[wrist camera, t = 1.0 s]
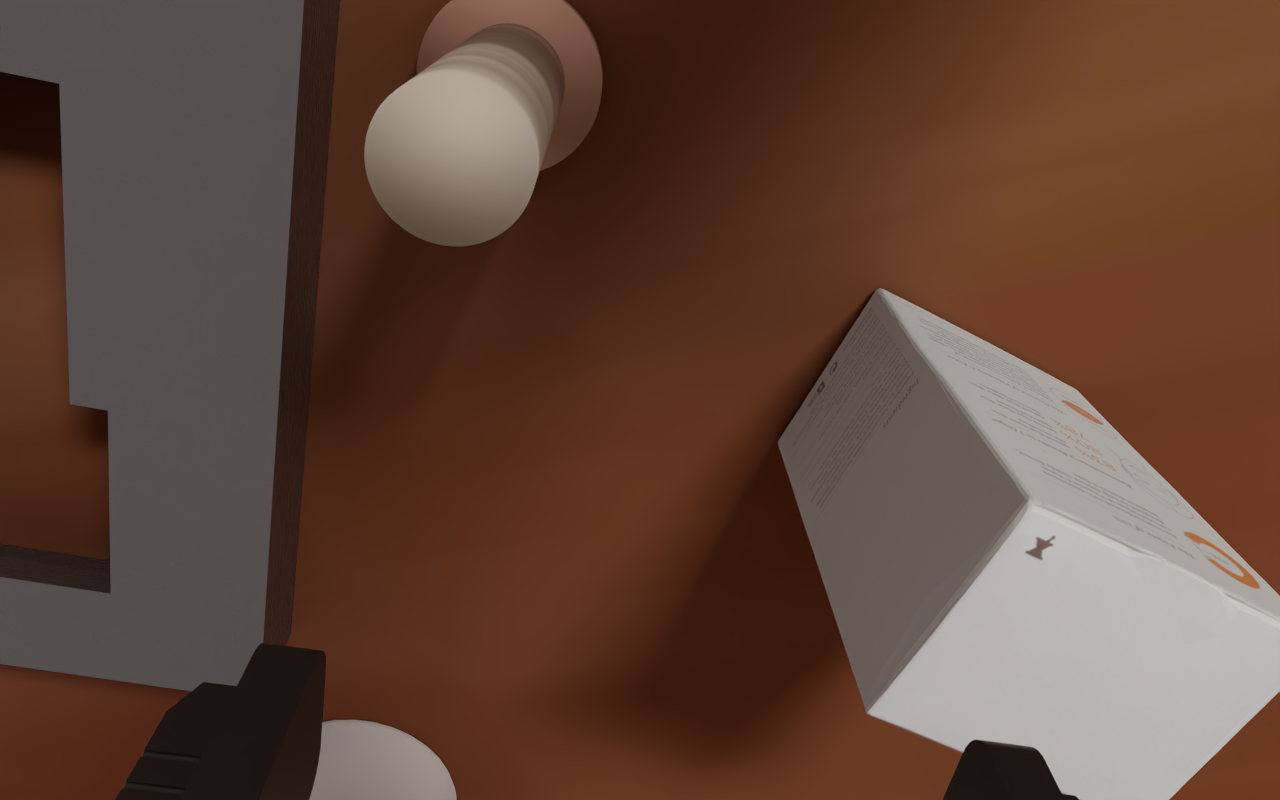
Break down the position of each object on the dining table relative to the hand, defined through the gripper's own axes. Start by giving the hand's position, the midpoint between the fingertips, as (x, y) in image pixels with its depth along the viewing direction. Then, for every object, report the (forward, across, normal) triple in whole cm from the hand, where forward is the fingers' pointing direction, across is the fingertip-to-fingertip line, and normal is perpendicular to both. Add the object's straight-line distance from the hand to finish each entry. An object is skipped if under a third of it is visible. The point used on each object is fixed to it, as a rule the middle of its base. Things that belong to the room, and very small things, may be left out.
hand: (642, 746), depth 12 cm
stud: (+20, +4, -4) cm, 21 cm away
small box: (+20, -11, +4) cm, 23 cm away
